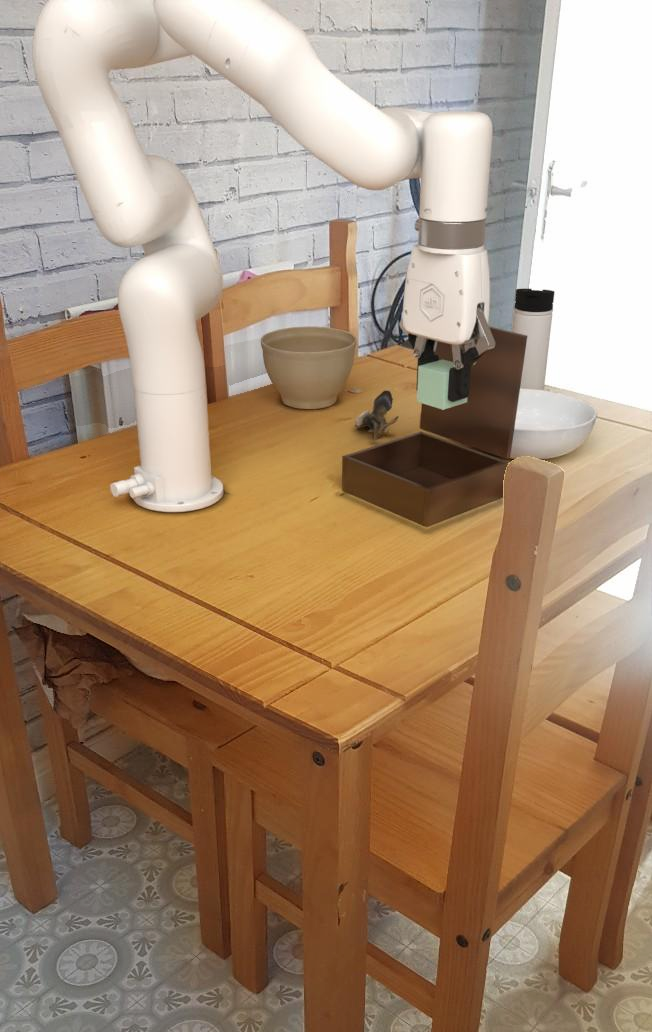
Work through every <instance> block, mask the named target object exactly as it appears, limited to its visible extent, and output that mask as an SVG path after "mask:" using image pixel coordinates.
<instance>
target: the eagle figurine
mask: <svg viewBox="0 0 652 1032" xmlns="http://www.w3.org/2000/svg"><path fill="white" fill-rule="evenodd" d="M393 401H394V399H393V395H392V393H391V391H390V390H386V389H385V390H383V391H382V392H381V393H380V394H379V395H378V396H376V398H375V399H374V400H373V406H372V411H371V412H370V410H365V411H364V412H362V413H361V414H359V415H358V416H357V417H356V420H355V425H354V427H355V428H359V427H366V426H367V427H368V428H369V429H368V432H369V433H372V434H373V442H374V441H378V440H379V439H380V437H381V435H382V433H383V434H386V435H387V436H388V437H390V436H391V435H390V432H389V428H388V427H389V426H391V425H393V424H395V423H396V422H397V421H398V420H399V417H400V416H399V415H397V416H395V417H394V418H393V419H391V420H389V421H388V422H387V418H386V414H388V412H390V411H391V409H392V408H393Z"/></svg>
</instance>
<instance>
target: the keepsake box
mask: <svg viewBox="0 0 652 1032" xmlns="http://www.w3.org/2000/svg"><path fill="white" fill-rule="evenodd" d="M341 459H342V460H341V492H344V493H347V494H349V495H350V496H353V497H356V498H357V499H360V500H362V501H365V502H366V503H369V504H371V505H374V506H376V507H378V508H381V509H383V510H385V511H388V512H390V513H392V514H395V515H397V516H399V517H402V518H404V519H406V520H408V521H411V522H413V523H415V524H418V525H420V526H423V527H425V528H429V527H431V526H433V525H437V524H439V523H442V522H444V521H447V520H450V519H452V518H454V517H458V516H459V515H462V514H464V513H467V512H470V511H472V510H475V509H478V508H480V507H482V506H485V505H488V504H491V503H493V502H495V501H498V500H500V499H504V497H503V480H504V474H505V470H506V467H507V468H508V466H507V465H508V464H509V462H508V461H506V460H503V459H501V458H499V457H495V456H492V455H490V454H486V453H484V452H481V451H478V450H475V449H473V448H469V447H467V446H464V445H461V444H458V443H455V442H452V441H449V440H446V439H444V438H441V437H438V436H435V435H432V434H429V433H427V432H424V431H418V432H414V433H411V434H409V435H405V436H402V437H399V438H396V439H392V440H389V441H386V442H383V443H379V444H376V445H374V446H373V445H372V446H370V447H367V448H364V449H361V450H357V451H354V452H351V453H348V454H345V455H342V456H341Z"/></svg>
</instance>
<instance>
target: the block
mask: <svg viewBox="0 0 652 1032" xmlns="http://www.w3.org/2000/svg"><path fill="white" fill-rule="evenodd" d="M453 367H454V363H453V362H450V361H447V360H443V359H442V360H439V361H435V362H432V363H428V364H424V365H421V366H418V387H417V390H416V402H417V403H420V404H422V403H423V404H426V405H429V406H432V407H436V408H439V409H442V410H444V409H447V408H451V407H454V406H457V405H460V404H463V403H466V402H467V398H464V399H461V400H458V401H455V402H451V401H449V400H448V385H449V370H450V368H453Z"/></svg>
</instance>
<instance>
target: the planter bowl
mask: <svg viewBox="0 0 652 1032" xmlns="http://www.w3.org/2000/svg"><path fill="white" fill-rule="evenodd" d="M356 346H357V337H356V336H355V334H353V333H352V332H349V331H348V330H347V331H346V330H342V329H340V328H339V329H338V328H333V327H326V326H315V325H313V326H308V325H307V326H291V327H285V328H279V329H275V330H272V331H269V332H266V333H265V334H263V335H261V337H260V347H261V349H262V360H263V364H264V367H265V371H266V373H267V376H268V378H269V380H270V382H271V384H272V385H273V387H274V389H275V390H276V391H277V392H278V393H279V394H280V398H281V402H282V403H283V404H284V405H286V406H287V407H290V408H294V409H301V410H317V409H324V408H329V407H331V406H333V405H334V404H335V403H336V402H337V401H338V395H339V393H340V392H341V391H342V390H343V388H344V387H345V385H346V383H347V382H348V379H349V377H350V375H351V372H352V368H353V366H354V362H355V361H354V360H355V351H356Z"/></svg>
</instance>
